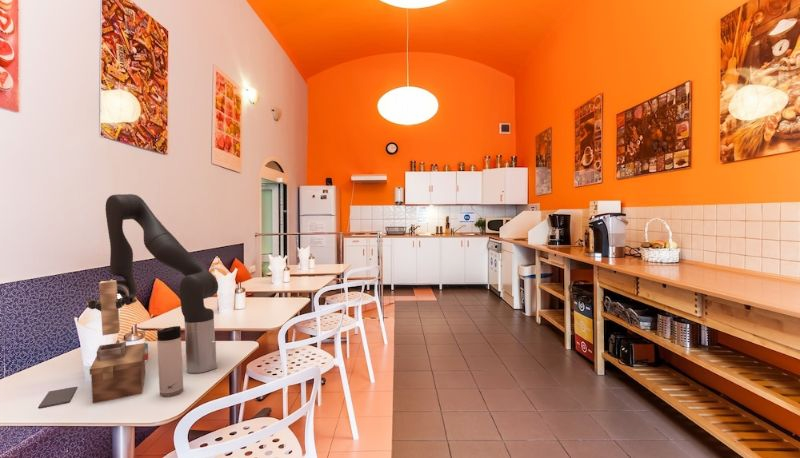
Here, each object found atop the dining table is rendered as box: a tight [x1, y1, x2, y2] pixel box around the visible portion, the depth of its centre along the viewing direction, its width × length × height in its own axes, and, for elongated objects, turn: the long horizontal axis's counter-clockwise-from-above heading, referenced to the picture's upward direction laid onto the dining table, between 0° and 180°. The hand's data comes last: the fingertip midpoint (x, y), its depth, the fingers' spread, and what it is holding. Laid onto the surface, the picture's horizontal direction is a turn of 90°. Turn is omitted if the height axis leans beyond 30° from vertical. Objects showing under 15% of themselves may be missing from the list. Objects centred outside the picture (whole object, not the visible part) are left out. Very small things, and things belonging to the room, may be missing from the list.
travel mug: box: [156, 325, 184, 398], centre depth 125 cm, size 6×7×20 cm
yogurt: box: [144, 342, 149, 361], centre depth 150 cm, size 12×2×6 cm, turn 2°
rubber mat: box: [37, 386, 79, 409], centre depth 124 cm, size 7×12×1 cm, turn 29°
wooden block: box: [98, 279, 121, 336], centre depth 129 cm, size 4×4×16 cm
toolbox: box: [89, 341, 146, 404], centre depth 131 cm, size 13×21×13 cm, turn 29°
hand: (108, 305), depth 127 cm, fingers closed on wooden block, 4 cm apart
